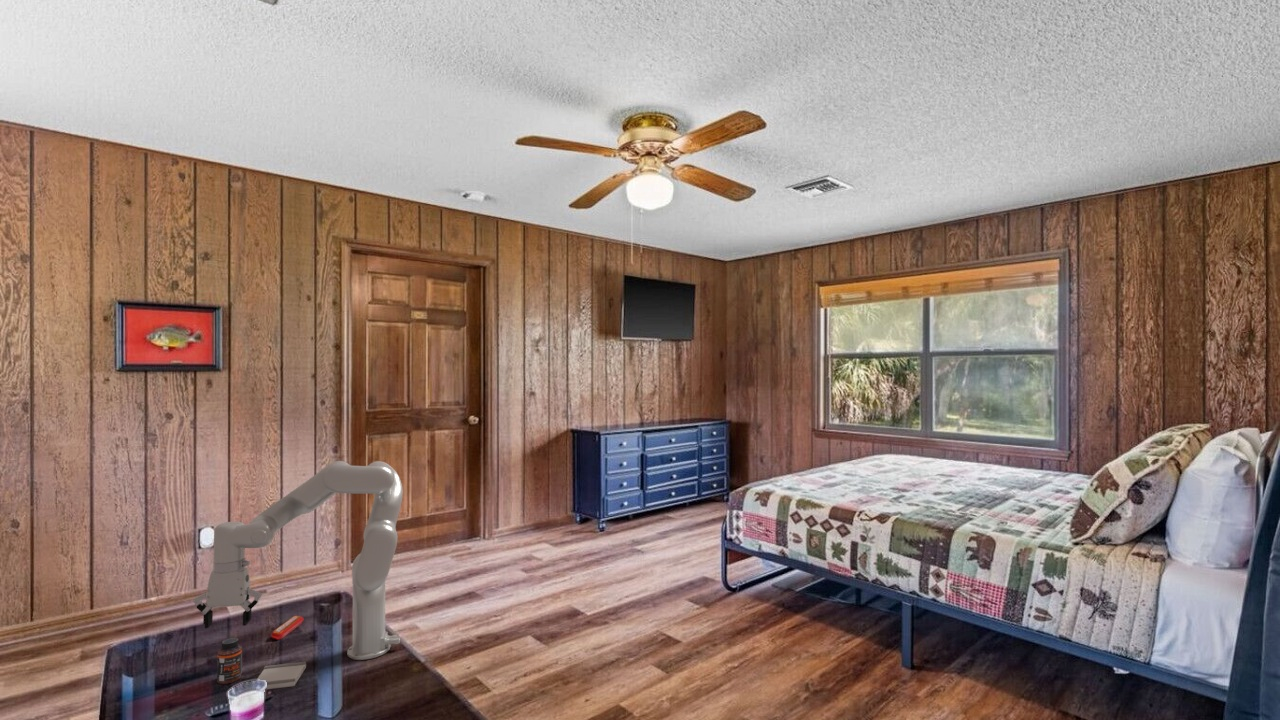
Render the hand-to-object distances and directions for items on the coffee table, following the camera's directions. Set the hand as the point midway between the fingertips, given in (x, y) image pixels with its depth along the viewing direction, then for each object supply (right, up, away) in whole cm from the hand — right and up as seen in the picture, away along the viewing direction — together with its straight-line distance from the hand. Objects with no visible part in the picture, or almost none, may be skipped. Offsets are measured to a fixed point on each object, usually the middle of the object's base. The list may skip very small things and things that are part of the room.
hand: (227, 625), depth 175 cm
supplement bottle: (+1, -16, 0) cm, 16 cm away
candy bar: (-1, -17, +33) cm, 37 cm away
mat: (+15, -16, 0) cm, 22 cm away
